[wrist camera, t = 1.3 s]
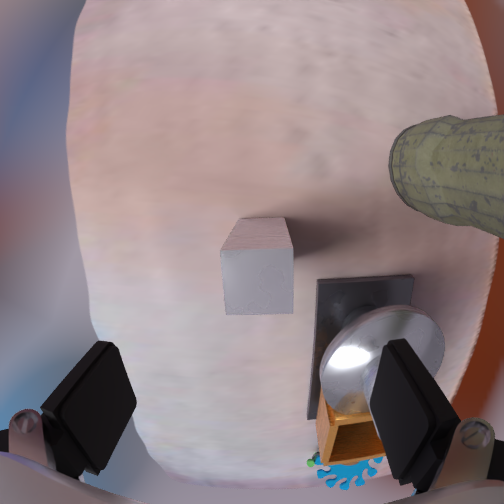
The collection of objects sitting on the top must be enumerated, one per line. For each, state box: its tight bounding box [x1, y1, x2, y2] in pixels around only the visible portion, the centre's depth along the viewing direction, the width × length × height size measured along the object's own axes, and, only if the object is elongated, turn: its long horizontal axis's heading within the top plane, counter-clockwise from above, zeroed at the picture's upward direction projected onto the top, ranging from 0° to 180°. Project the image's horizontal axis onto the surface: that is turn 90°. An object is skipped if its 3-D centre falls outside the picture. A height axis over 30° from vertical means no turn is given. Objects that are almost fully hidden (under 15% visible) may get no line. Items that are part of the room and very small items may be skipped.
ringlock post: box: [307, 275, 445, 466], centre depth 22 cm, size 22×11×14 cm, turn 3°
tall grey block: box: [220, 217, 293, 315], centre depth 21 cm, size 4×4×10 cm
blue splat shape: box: [307, 453, 383, 490], centre depth 32 cm, size 11×6×10 cm
